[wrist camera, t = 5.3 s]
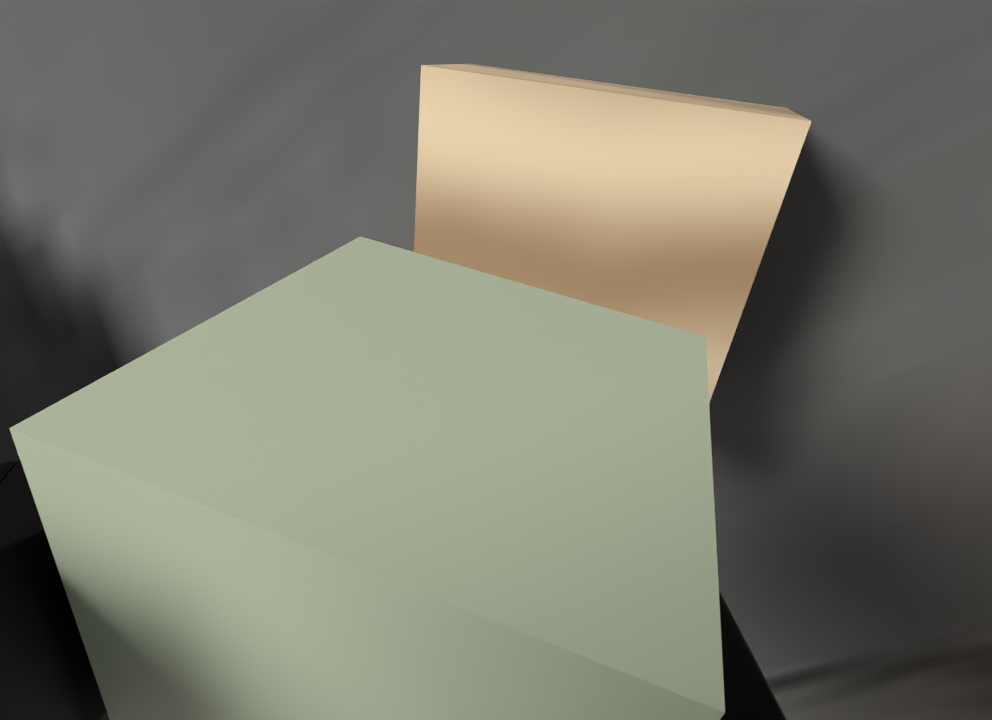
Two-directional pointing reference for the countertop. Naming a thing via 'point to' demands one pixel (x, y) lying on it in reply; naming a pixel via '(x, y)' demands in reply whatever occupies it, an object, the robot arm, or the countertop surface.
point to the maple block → (604, 191)
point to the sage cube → (392, 507)
